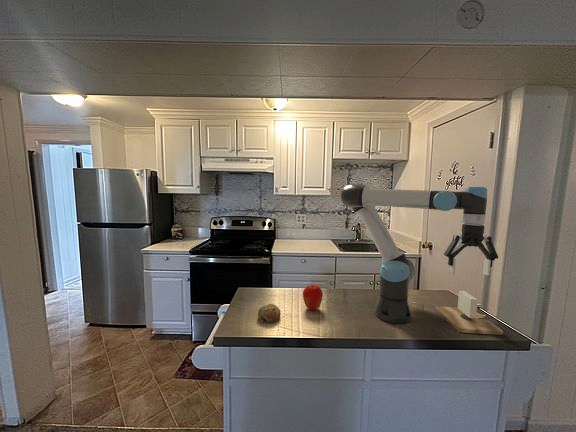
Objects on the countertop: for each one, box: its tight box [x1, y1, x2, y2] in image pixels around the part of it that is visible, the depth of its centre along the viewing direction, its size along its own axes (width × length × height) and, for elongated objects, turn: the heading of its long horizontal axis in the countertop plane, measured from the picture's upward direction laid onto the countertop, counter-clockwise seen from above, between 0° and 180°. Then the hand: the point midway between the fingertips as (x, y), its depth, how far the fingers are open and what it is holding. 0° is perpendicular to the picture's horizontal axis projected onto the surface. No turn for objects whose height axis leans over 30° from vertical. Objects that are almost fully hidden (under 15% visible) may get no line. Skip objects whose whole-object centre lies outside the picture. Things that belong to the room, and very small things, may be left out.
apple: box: [302, 284, 324, 312], centre depth 119 cm, size 9×9×12 cm
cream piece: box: [457, 290, 487, 320], centre depth 109 cm, size 10×9×10 cm
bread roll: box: [257, 303, 281, 324], centre depth 111 cm, size 10×10×8 cm
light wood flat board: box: [435, 305, 504, 336], centre depth 110 cm, size 16×20×2 cm
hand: (469, 273), depth 108 cm, fingers open, 13 cm apart
